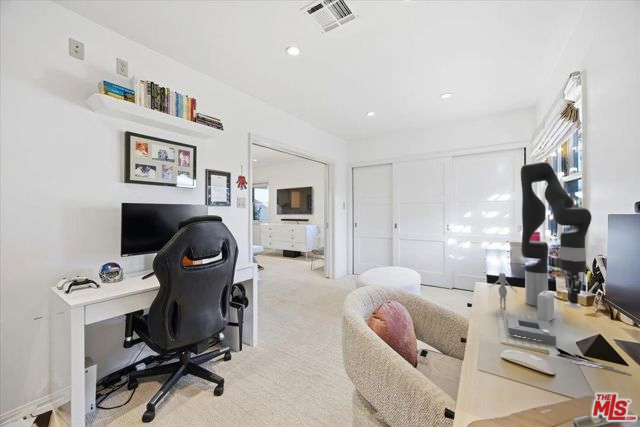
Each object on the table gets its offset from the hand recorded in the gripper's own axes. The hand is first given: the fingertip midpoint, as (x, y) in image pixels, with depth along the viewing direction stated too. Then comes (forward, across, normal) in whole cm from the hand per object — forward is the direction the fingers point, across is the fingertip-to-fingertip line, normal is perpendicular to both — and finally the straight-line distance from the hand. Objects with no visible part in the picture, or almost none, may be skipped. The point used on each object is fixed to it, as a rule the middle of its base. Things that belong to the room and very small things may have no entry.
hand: (572, 301), depth 103 cm
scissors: (+13, +24, -2) cm, 27 cm away
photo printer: (+13, -14, -6) cm, 21 cm away
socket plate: (+13, +6, -14) cm, 20 cm away
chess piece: (+2, 0, 0) cm, 2 cm away
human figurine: (+13, -20, -22) cm, 32 cm away
